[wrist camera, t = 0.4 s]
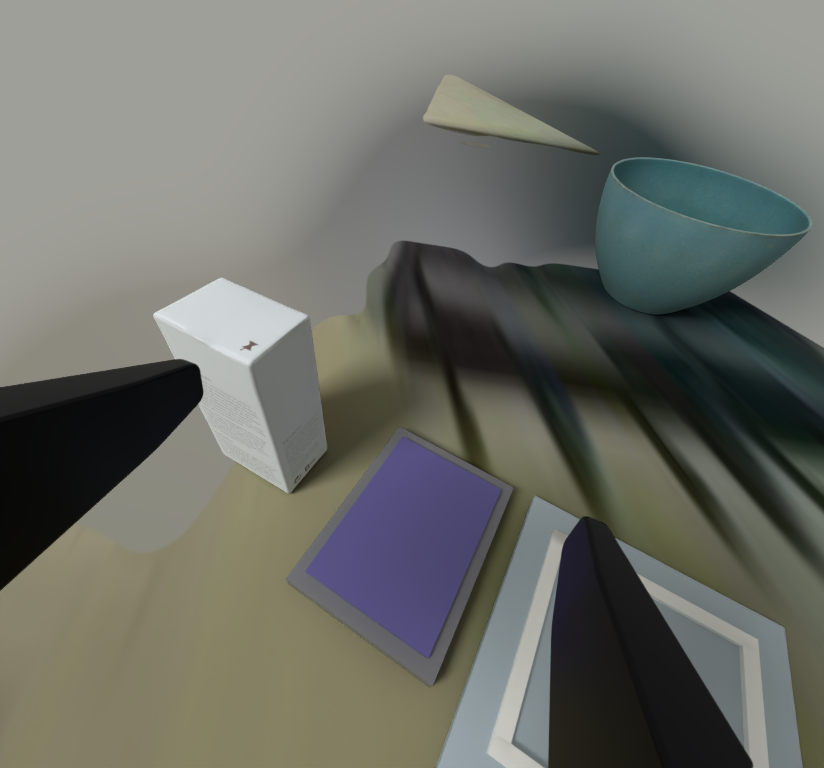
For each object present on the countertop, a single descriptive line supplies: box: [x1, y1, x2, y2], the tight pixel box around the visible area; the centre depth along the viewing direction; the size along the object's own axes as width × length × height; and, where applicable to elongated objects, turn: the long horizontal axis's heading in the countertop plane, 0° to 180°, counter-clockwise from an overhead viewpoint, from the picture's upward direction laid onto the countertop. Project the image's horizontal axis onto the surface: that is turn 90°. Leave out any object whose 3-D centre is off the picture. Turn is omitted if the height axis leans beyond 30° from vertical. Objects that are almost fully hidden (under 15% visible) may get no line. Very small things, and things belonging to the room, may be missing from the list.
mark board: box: [435, 496, 803, 768], centre depth 19 cm, size 15×15×1 cm
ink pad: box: [286, 427, 514, 687], centre depth 23 cm, size 12×9×1 cm
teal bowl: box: [595, 158, 813, 314], centre depth 41 cm, size 18×18×12 cm
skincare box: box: [153, 277, 327, 494], centre depth 22 cm, size 6×4×12 cm
